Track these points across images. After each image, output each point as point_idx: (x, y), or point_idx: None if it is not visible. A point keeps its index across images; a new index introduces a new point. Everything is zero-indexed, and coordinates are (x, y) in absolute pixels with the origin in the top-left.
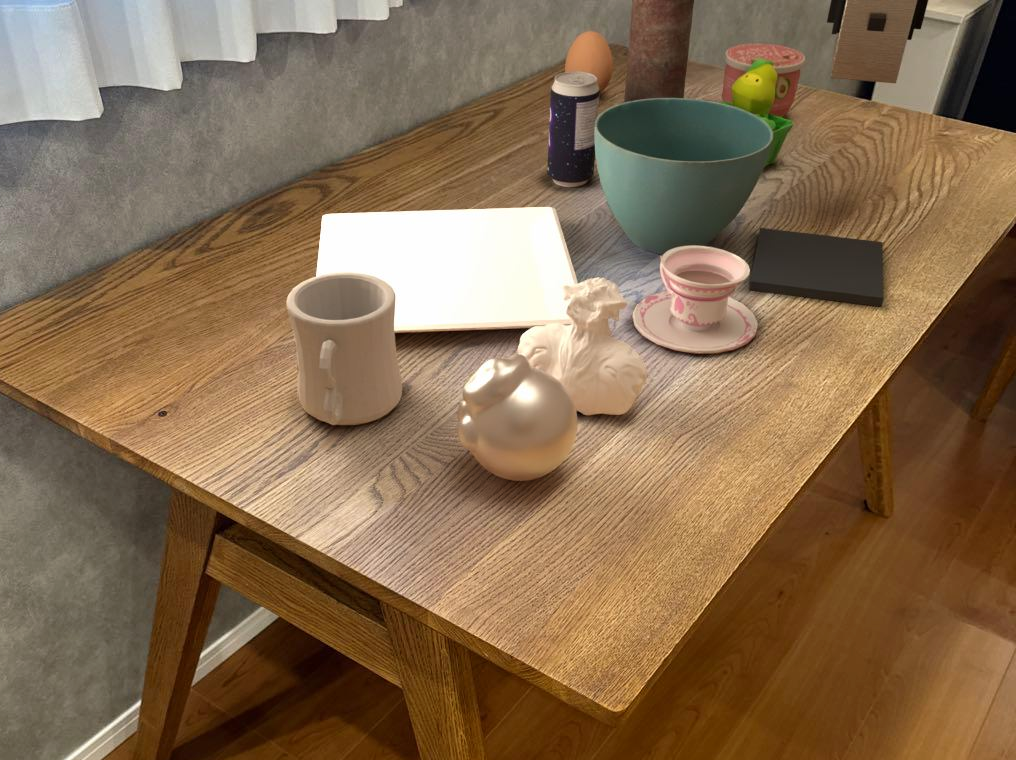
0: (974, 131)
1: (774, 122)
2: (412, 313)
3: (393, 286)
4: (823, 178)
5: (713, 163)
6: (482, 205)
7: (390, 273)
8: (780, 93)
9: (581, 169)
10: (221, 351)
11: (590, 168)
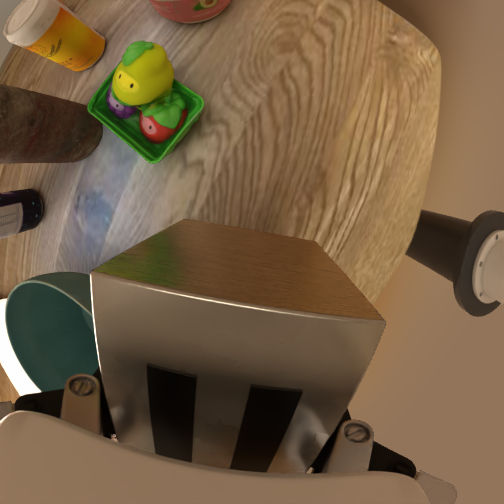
0: (417, 39)
1: (177, 112)
2: (39, 390)
3: (21, 367)
4: (252, 151)
5: None
6: (7, 263)
7: (15, 356)
8: (208, 5)
9: (30, 227)
10: (13, 393)
11: (35, 219)
